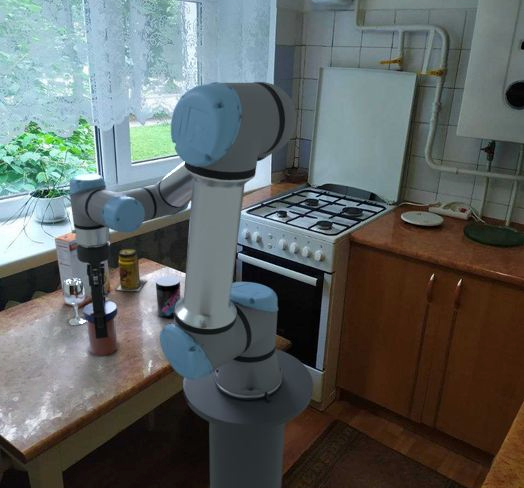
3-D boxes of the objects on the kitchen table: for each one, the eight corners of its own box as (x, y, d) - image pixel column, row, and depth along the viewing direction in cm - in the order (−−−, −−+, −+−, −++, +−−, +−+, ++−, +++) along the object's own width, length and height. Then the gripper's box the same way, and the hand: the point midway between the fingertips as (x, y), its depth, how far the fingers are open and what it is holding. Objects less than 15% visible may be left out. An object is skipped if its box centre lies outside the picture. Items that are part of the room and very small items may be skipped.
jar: (122, 347, 125) (119, 310, 121) (100, 358, 120) (96, 320, 116) (107, 338, 129) (104, 302, 125) (84, 348, 124) (80, 311, 120)
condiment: (115, 290, 155) (112, 254, 151) (125, 279, 163) (122, 245, 159) (138, 291, 155) (136, 256, 150) (146, 280, 162) (144, 246, 158)
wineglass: (93, 318, 138) (88, 280, 134) (77, 328, 133) (73, 288, 129) (77, 314, 140) (72, 275, 136) (61, 323, 135) (56, 283, 131)
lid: (84, 309, 124) (83, 302, 123) (116, 305, 126) (116, 299, 125) (83, 324, 117) (82, 317, 116) (117, 320, 119) (117, 313, 118)
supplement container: (156, 319, 139) (155, 286, 135) (157, 308, 145) (156, 276, 141) (181, 318, 140) (180, 285, 136) (181, 307, 146) (180, 275, 142)
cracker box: (96, 286, 158) (90, 223, 150) (111, 290, 155) (105, 227, 147) (62, 303, 146) (53, 237, 138) (77, 308, 143) (69, 241, 136)
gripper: (77, 229, 122) (86, 311, 131) (73, 260, 104) (84, 353, 112) (109, 227, 124) (116, 307, 133) (111, 257, 106) (119, 348, 115)
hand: (101, 328), depth 123 cm, fingers closed on lid, 8 cm apart
